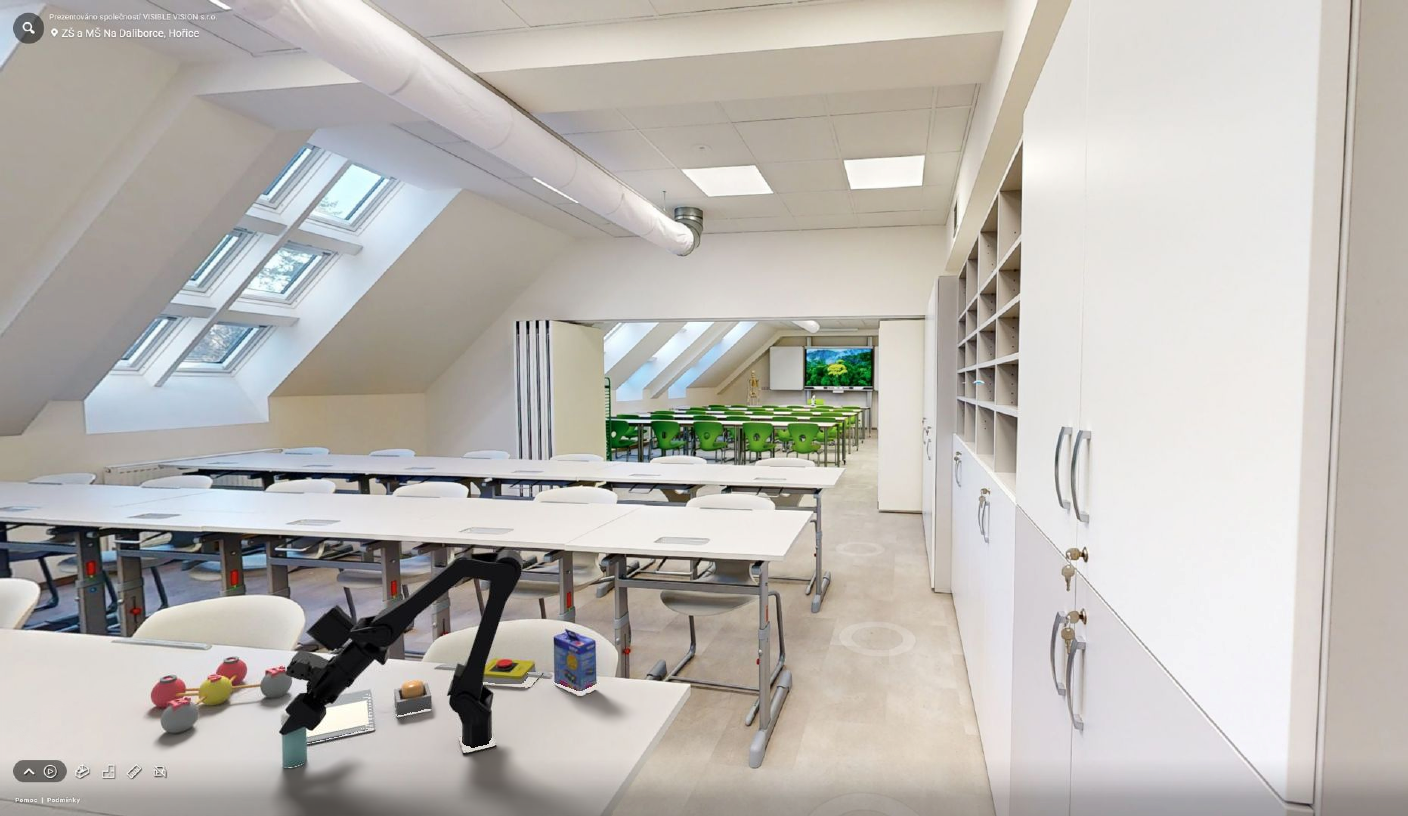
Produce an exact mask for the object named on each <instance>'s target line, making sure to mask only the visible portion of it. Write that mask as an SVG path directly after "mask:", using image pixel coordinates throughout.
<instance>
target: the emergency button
mask: <svg viewBox="0 0 1408 816" xmlns="http://www.w3.org/2000/svg"><path fill="white" fill-rule="evenodd" d="M527 672H543V671H542V670H536V663H535V661H534V660H524V659H523V660H522V659H509V658H497V657H496V658H492V659H491V660H490V661H489V662H488V663H486V666H485V674H484V682H488V683H495V684H522V683H524V681H526V679H527V678H528V675H529V674H528V673H527Z"/></svg>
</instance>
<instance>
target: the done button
mask: <svg viewBox="0 0 1408 816" xmlns="http://www.w3.org/2000/svg"><path fill="white" fill-rule="evenodd" d="M423 684H424V682H423V681H422V680H411V681H407V682H405V683H403V684H402V685H401V688H402V700H404V699H409V698H414V697H419V696H423Z"/></svg>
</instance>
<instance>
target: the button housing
mask: <svg viewBox="0 0 1408 816" xmlns="http://www.w3.org/2000/svg"><path fill="white" fill-rule="evenodd" d="M393 691H394V693H393V694H394V698H393V699H394V709H395V708H396V710H395V714H397V716H398V715H404V714H407V713H410V712H411V713H412V712H418V711H421V710H424V709H432V705H433V704H432V703H433V702H432V693H431V690H430V687H429V683H428V682H427V683H423V696H419V697H414V698H409V699H404V700H402V687H400V688H395V689H394V690H393ZM397 716H396V717H397Z"/></svg>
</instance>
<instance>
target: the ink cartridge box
mask: <svg viewBox="0 0 1408 816" xmlns="http://www.w3.org/2000/svg"><path fill="white" fill-rule="evenodd" d="M564 631H565V632H563V633H560V634H557V635H555V636H553V669H554V670H553V676H554V677H553V679H554V682H555V683H557V684H561V685H563V686H565V687H569V688H571V689H574V690H576V691H583V690H585V689H587V688H589V687H592V686H593V685H595V684H598V681H597V680H598V679H597V647H596V646H597V644H596V643H597V642H596V640H595V639H593V638H591V637H588V636H584V635H580V633H577V632H576V631H572V630H570V629H568V628H564ZM554 682H553V683H554Z"/></svg>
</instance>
